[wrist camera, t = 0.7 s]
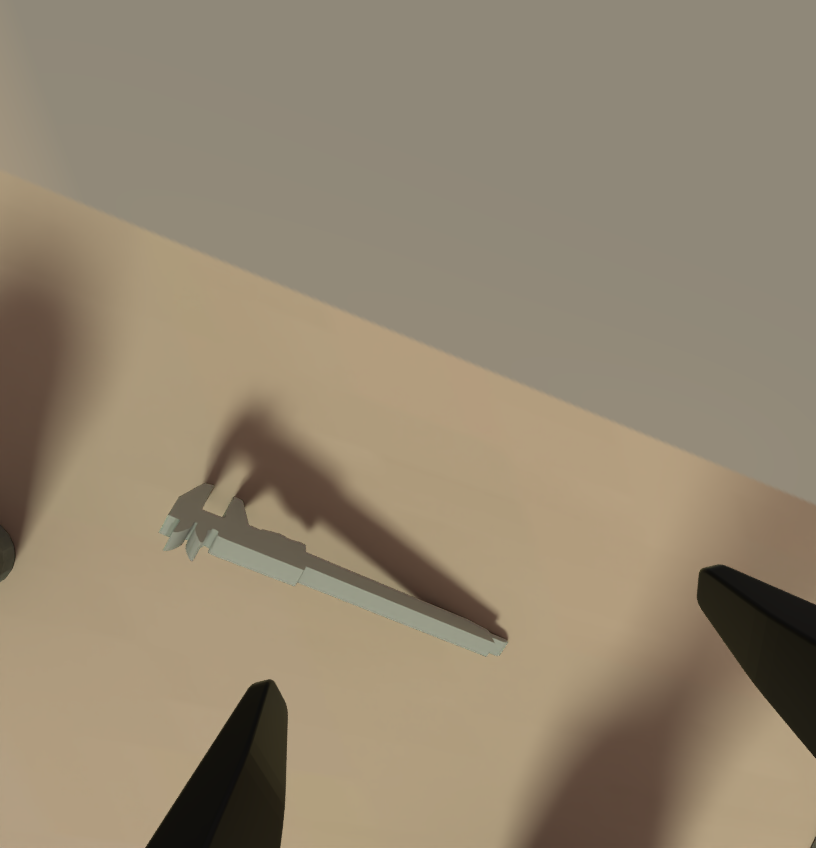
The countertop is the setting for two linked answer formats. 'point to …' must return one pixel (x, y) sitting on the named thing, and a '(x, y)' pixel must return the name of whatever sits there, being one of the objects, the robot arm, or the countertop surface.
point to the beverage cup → (6, 554)
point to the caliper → (310, 570)
